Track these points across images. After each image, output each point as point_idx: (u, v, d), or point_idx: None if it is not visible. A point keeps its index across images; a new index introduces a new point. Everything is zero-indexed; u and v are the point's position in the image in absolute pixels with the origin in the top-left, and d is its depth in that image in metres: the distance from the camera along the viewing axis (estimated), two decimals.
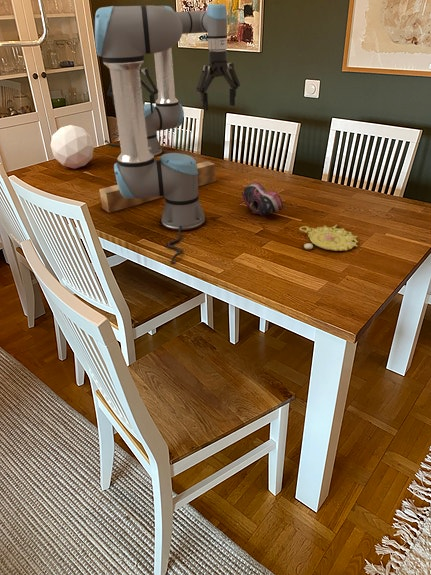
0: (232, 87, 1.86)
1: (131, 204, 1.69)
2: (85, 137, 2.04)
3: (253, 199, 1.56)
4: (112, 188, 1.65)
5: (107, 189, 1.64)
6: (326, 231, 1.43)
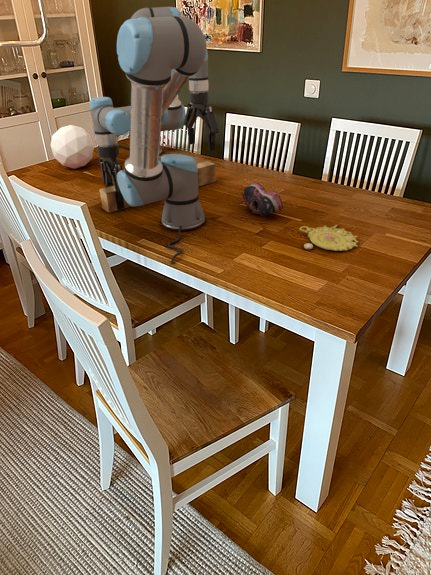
0: (190, 126, 1.83)
1: None
2: (85, 137, 2.04)
3: (253, 199, 1.56)
4: (112, 188, 1.65)
5: (107, 189, 1.64)
6: (326, 231, 1.43)
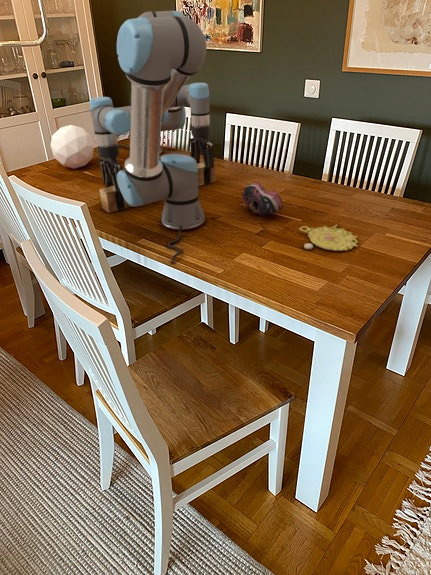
0: (197, 163, 1.89)
1: None
2: (85, 137, 2.04)
3: (253, 199, 1.56)
4: (112, 188, 1.65)
5: (107, 189, 1.64)
6: (326, 231, 1.43)
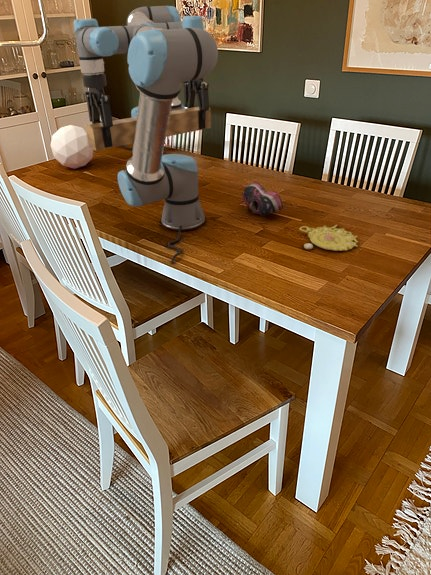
0: (191, 107, 1.78)
1: (120, 143, 1.59)
2: (85, 137, 2.04)
3: (253, 199, 1.56)
4: (99, 124, 1.54)
5: (94, 125, 1.53)
6: (326, 231, 1.43)
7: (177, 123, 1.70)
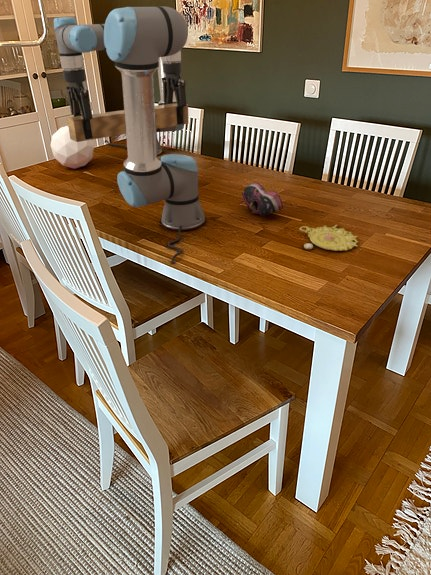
0: (169, 103, 1.87)
1: (100, 136, 1.67)
2: None
3: (253, 199, 1.56)
4: (80, 117, 1.63)
5: (75, 117, 1.62)
6: (326, 231, 1.43)
7: (156, 118, 1.79)
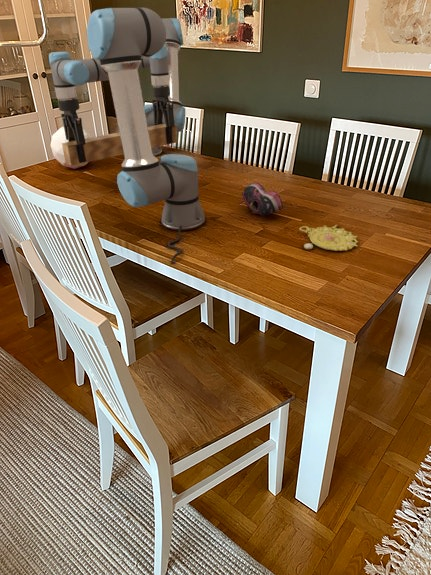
0: (159, 124, 1.98)
1: (93, 159, 1.79)
2: (85, 137, 2.04)
3: (253, 199, 1.56)
4: (74, 142, 1.74)
5: (69, 143, 1.73)
6: (326, 231, 1.43)
7: None
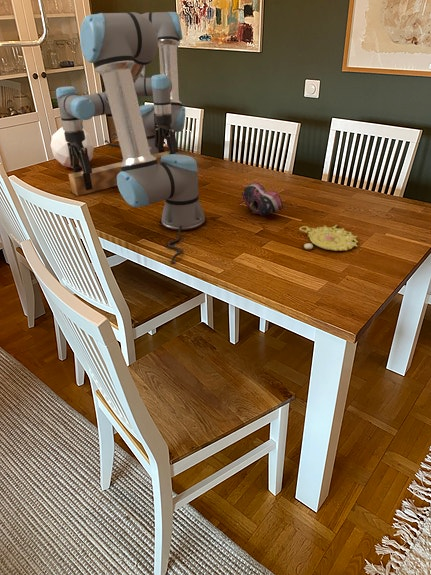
0: (160, 148, 2.05)
1: (98, 188, 1.85)
2: (85, 137, 2.04)
3: (253, 199, 1.56)
4: (80, 173, 1.81)
5: (75, 174, 1.80)
6: (326, 231, 1.43)
7: None
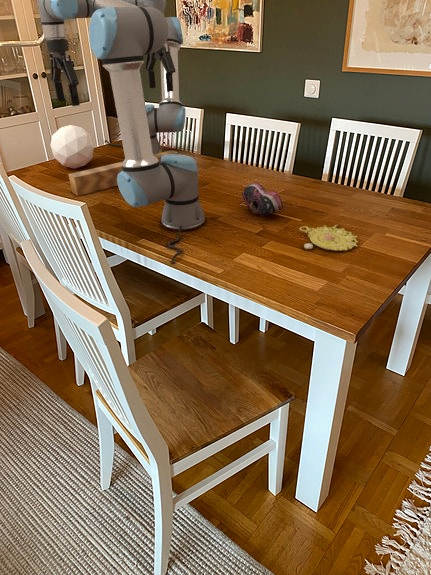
0: (150, 70, 1.89)
1: (98, 188, 1.85)
2: (85, 137, 2.04)
3: (253, 199, 1.56)
4: (80, 173, 1.81)
5: (75, 174, 1.80)
6: (326, 231, 1.43)
7: None
